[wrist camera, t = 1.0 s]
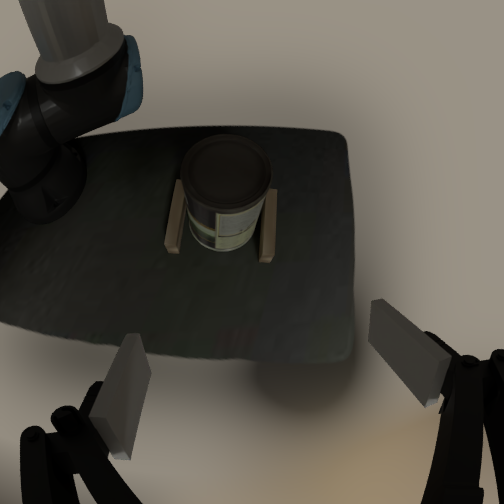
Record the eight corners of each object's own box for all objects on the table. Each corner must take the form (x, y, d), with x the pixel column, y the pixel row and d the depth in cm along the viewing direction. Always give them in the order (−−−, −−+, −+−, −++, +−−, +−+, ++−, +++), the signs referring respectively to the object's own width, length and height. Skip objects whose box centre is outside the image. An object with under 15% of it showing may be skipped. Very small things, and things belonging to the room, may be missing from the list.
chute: (168, 252, 43) (164, 243, 39) (179, 192, 46) (176, 179, 42) (269, 262, 44) (274, 254, 40) (272, 201, 47) (277, 189, 44)
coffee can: (181, 244, 44) (167, 199, 30) (198, 184, 47) (195, 126, 34) (249, 259, 44) (265, 220, 31) (261, 198, 47) (279, 143, 34)
